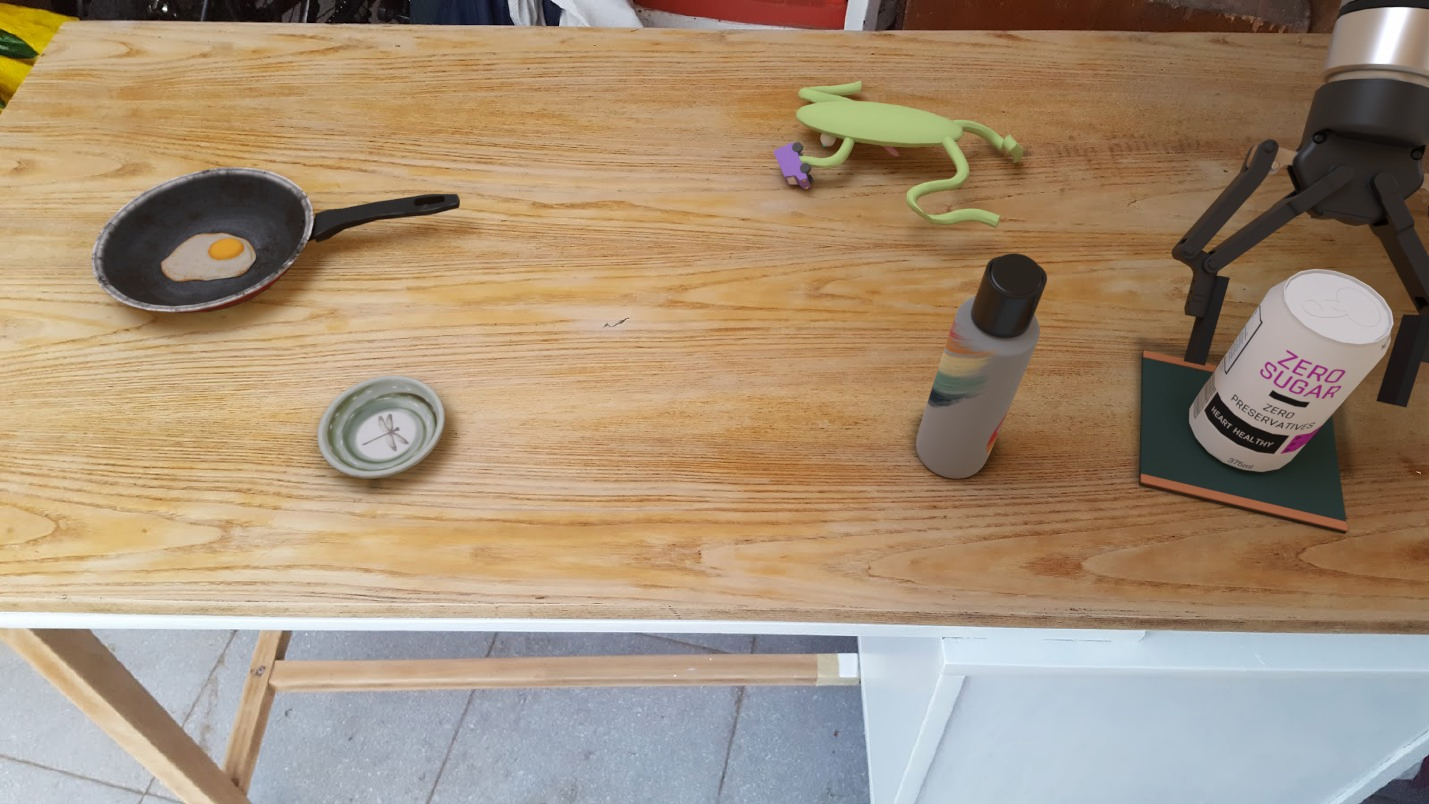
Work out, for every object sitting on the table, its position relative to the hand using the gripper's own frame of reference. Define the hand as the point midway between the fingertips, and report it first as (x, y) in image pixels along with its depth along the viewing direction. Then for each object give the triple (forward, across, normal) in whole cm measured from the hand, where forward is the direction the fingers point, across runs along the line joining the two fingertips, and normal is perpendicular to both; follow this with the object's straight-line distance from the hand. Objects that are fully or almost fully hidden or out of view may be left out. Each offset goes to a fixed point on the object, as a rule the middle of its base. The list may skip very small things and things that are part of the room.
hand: (1290, 384), depth 69 cm
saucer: (+19, +65, +7) cm, 68 cm away
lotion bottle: (+11, +22, -1) cm, 25 cm away
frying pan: (+7, +84, -5) cm, 85 cm away
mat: (+5, 0, -6) cm, 8 cm away
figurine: (-13, +32, -24) cm, 42 cm away
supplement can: (+5, 0, -6) cm, 8 cm away
